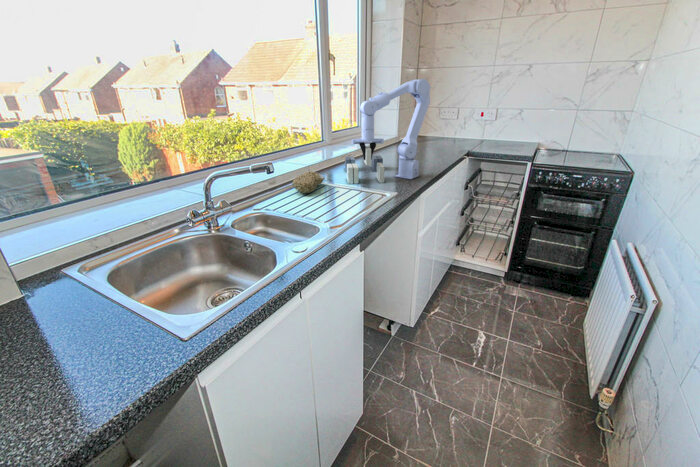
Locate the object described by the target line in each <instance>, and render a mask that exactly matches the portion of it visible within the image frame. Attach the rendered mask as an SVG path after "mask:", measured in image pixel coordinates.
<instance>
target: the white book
mask: <svg viewBox="0 0 700 467" xmlns="http://www.w3.org/2000/svg"><path fill="white" fill-rule="evenodd" d="M365 146H366V148H365V156H366V159H365V160H364V159H363V162H364V165H365V166H366V167H371V148H370V145H365Z"/></svg>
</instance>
